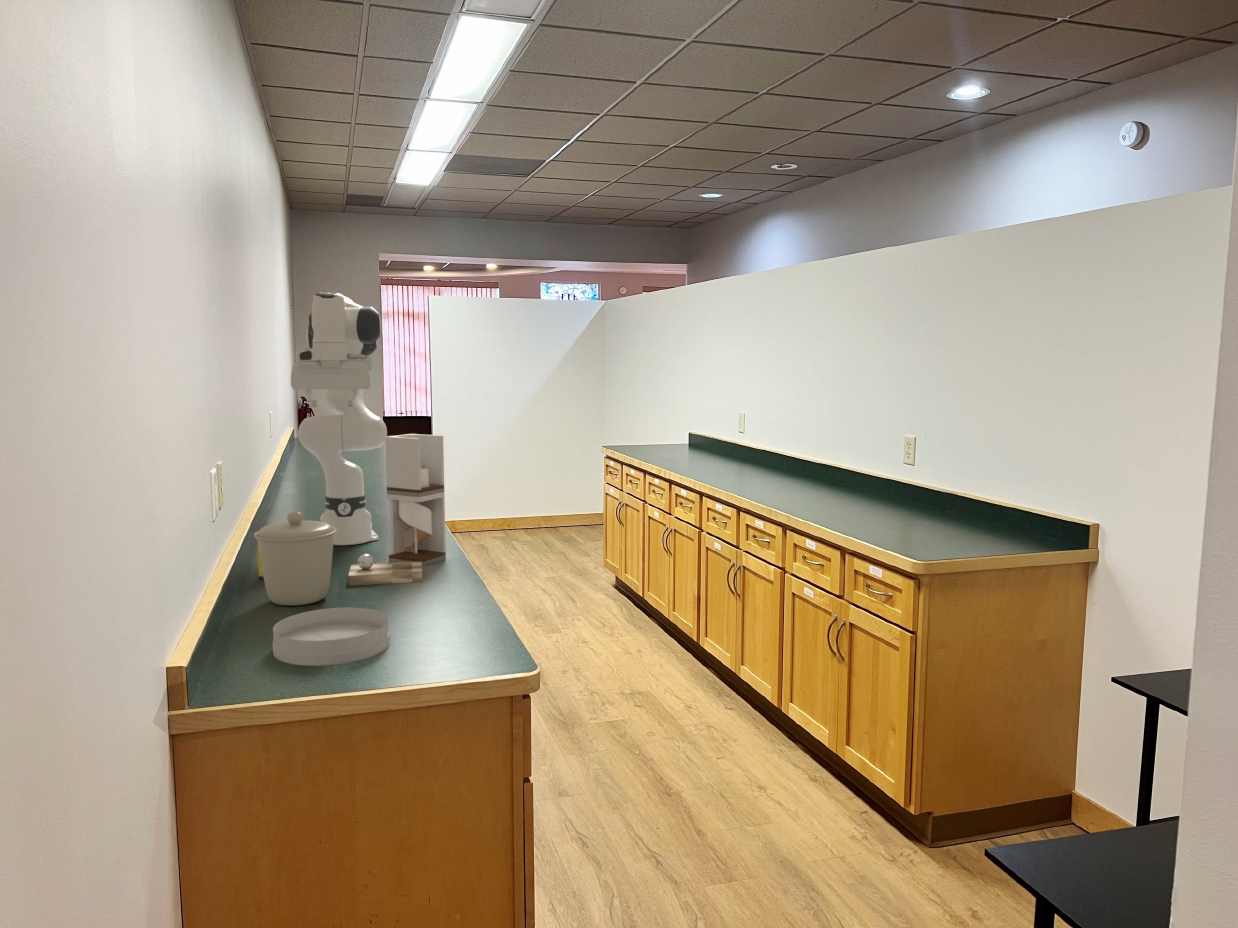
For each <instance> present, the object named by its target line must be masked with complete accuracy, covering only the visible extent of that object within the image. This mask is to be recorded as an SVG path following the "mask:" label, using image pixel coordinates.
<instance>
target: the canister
mask: <svg viewBox="0 0 1238 928" xmlns="http://www.w3.org/2000/svg"><path fill="white" fill-rule="evenodd" d="M286 519H287V520H286V521H281V522H275V523H270V524H267V525H265V526H263V527H261V528H260V529H259V530H257V531H255V532H254V534H253V537H254V538H255V539H256V540H257V541H258V547H257V549H258V548H259V554H260V560H261V566H262V572H263V577H264V579H263V581H264V586H265V591H266V594H267V597H268V599H269V600H270V601H271V602H272V603H273V604H275V605H280V606H289V607H291V606H292V607H293V606H304V605H305V606H306V605H309V604H315V603H316V602H319V601H322V600H323V599H325V598H326V596H327V594H328V593H329V590H330V587H331V585H330V584H331V577H332V576H331V575H332V567H333V566H332V564H333V554H334V553H333V551H334V545H333V539H334V534H335V533H336V531H337V529H336V528H335V527H333V526H331V525H329V524H328V523H325V522H321V520H320V521H319V520H304V515H303V513H301V511H291V512H289V513H288V514H287V516H286Z"/></svg>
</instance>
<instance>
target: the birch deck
mask: <svg viewBox="0 0 1238 928" xmlns="http://www.w3.org/2000/svg"><path fill="white" fill-rule="evenodd" d="M347 578H348V579H347V580H348V586H352V587H353V586H367V585H386V584H401V583H402V584H404V583H405V584H407V583H419V582H422V583H423V566H422V561H417V562H397V563H391V562H380V563H379V562H377V563H374V564H373V566H372V567H371V568H370V569H367V570H364V569H361V568H360V567H359V565H358V563H357V564H351V565H350V569H349V572H348V577H347Z"/></svg>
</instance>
